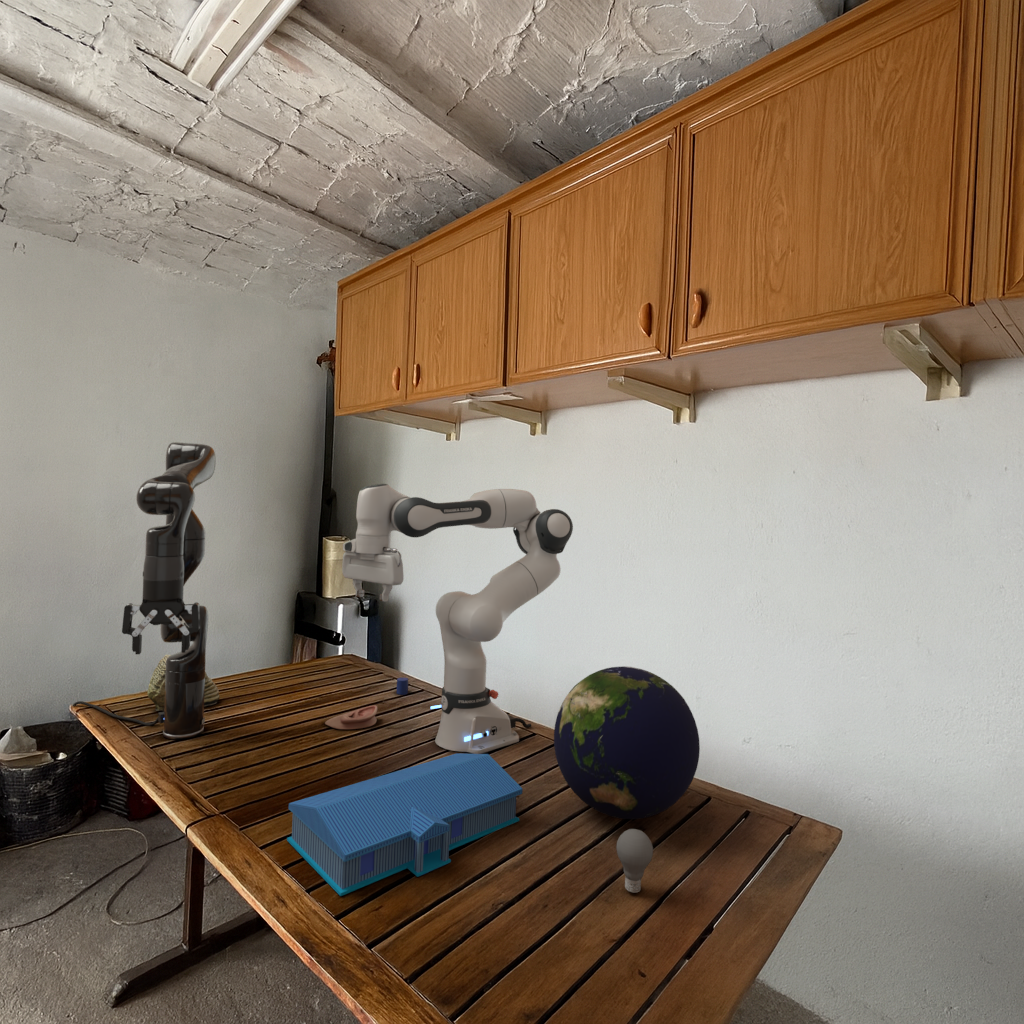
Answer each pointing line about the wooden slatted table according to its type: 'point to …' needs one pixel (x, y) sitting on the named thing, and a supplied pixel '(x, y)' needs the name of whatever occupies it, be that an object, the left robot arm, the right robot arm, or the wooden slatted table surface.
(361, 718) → the anatomical model
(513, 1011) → the wooden slatted table surface
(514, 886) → the wooden slatted table surface
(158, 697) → the fossil
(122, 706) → the wooden slatted table surface
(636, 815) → the globe
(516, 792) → the model building
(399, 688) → the canister
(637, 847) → the light bulb
